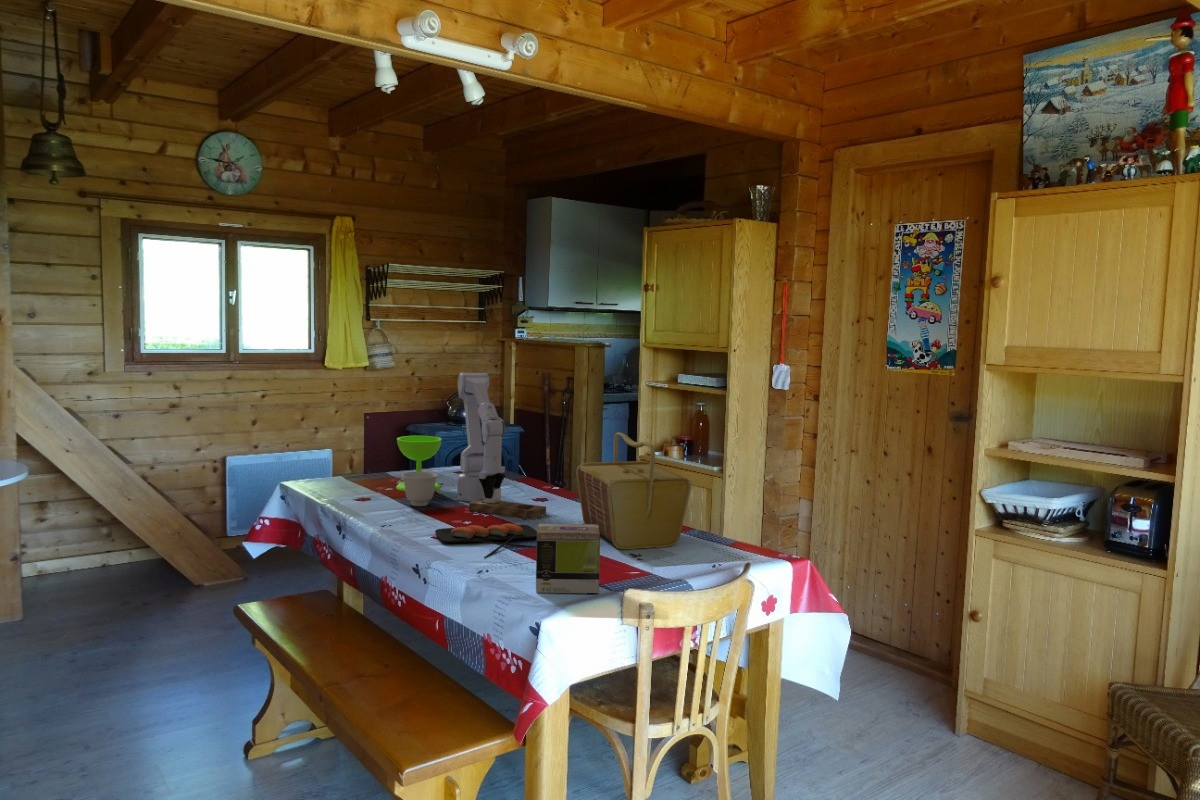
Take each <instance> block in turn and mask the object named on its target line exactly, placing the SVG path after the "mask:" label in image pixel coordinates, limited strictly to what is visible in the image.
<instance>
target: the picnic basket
mask: <svg viewBox="0 0 1200 800" xmlns="http://www.w3.org/2000/svg"><path fill="white" fill-rule="evenodd" d="M619 437H621V438H622V439H623V440H624V442H625V443H626V444H627V445H628V446H630V447H633V448H643V447H644V446H646V447H648V448H649V450H650V452H649V453H650V459H649V460H650V461H646V460H643V461H642V460H638V461H637V460H636V461H619V460H618V459H619V457H618V455H619V452H618V451H619ZM655 449H656V448H655V447H654V444H651V443H649V442H647V441H638V442H636V441H634V440H633V439H631V437H629V436H628V435H627V434H625V433H623V432H619V431H618V432H616V433H615V434H614V438H613V461H601V462H600V461H599V462H584V463H581V464H580V465H578V467H577V468H576V470H575V473H576V481H577V487H578V495H579V500H580V501H579V502H580V508H581V509H580V510H581V517H582V521H583V524H598V525H599V532H600V536H602V537H604V538H606V540H607V541H609V542H611V543H612V544H613V545H614V546H615V547H616V548H617V549H619V550H622V549H631V550H637V549H636V548H647V549H653V548H652V547H662V548H668V547H672V546H674V545H675V544H676V543H677V542H678V541H679V540H680V538H681V535H682V534H681V533H682V529H683V525H684V522H685V516H686V512H687V509H688V504H689V499H690V495H691V491H692V482H691V480H690V479H689V478H687V477H684V476H681V475H679V474H677V473H676V472H672V471H670V470H667V469H665V468H662V466H661V467H660V466H658V465H656V464H655V460H656V450H655Z"/></svg>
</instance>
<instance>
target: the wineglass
mask: <svg viewBox="0 0 1200 800" xmlns="http://www.w3.org/2000/svg"><path fill="white" fill-rule="evenodd" d="M442 440H443V439H442V437H437V436H431V435H430V436H429V435H407V436H405V435H404V436H400V437H397V438H396V443H397V446H398V449H399V451H400V452H401V453H402V455H403V456H404V457H406V458H407V459H409V460H412V461H415V462H416V463H415V465H416V466H415V467H416V468H415V472H422V466H423V465H422V463H423V461H427V460H428V459H431V458H432V457H433V456H435V455H436V453H437V452H439V450H440V447H442ZM395 488H396V490H398V491H402V492H405V485H404V481H403V482H400V483H398V484H397V485H396V487H395ZM441 488H442V487H441V485H440V484H439V483H437V482H435V489H434V492H435V491H438V490H440V489H441Z"/></svg>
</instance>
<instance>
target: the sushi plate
mask: <svg viewBox="0 0 1200 800" xmlns="http://www.w3.org/2000/svg"><path fill="white" fill-rule="evenodd" d="M434 532H435V535H436V537H437V538H438V539H439V540H440V541H441V542H444V543H453V542H454V543H455V544H456V543H458V542H462V543H477V542H478V543H485V544H487V543H488V544H494V545H499V546H498V547H497V548H495V549H494V550H492V551H491V552H489V553H488V554H486V555H484V557H483V558H485V559H487V558H489V557H490V555H491V556H492V555H494V554H495V553H497V552H498V551H499V550H500V549H501V548H502V547H504V546H511V547H517V548H518V547H519V548H534V547H537V545H527V544H517V543H516V544H515V543H509V542H510V541H512V539H513V540H525V539H532V538H537V530H536V529H535V528H534V527H533V526H531V525H528V524H521V523H520V524H515V523H509V522H508V523H503V524H501V525H500V524H495V525H493V524H492V525H482V526H481V525H476V524H474V525H473V524H472V525H468V526H458V527H447V528H438V529H435V531H434ZM497 541H505V542H497ZM493 553H494V554H493ZM488 556H489V557H488ZM486 557H487V558H486Z"/></svg>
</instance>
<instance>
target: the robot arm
mask: <svg viewBox="0 0 1200 800" xmlns="http://www.w3.org/2000/svg"><path fill="white" fill-rule="evenodd" d="M489 388H490V377H489V375H488V373H487V372H482V373H481V372H480V373H478V372H471V373H470V372H469V373H468V372H460V373H459V374H458V377H457V391H458V398H459V399H461V400H462V401H463V406H464V414H465V415H464V417H465V426H466V438H467V446H466V448H464V449H463V450H462V451H461V453H460V464H459V465H460V470H461V472H462V473H461V474H459V476H458V479H457V489H456V490H457V492H456V493H457V495H456V496H457V497H456V498H455V499H456V501H462V502H469V503H470V502H473V501H476V500H478V499H484V496H485V498H488V499H491V498H492V493H493V487H499V488H501V487H502V483H503V481H504V479H505V478H506V474H504V473H505V472H506V466H503V465H502V445H503V444H502V443H503V440H502V439H503V437H504V435H505V432H506V425H505V421H504V420H503V418H501V417H499V414H498V412H497V410H496V407H495V405H494V404H493V403H491V402H490V398H489V393H488V390H489Z"/></svg>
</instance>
